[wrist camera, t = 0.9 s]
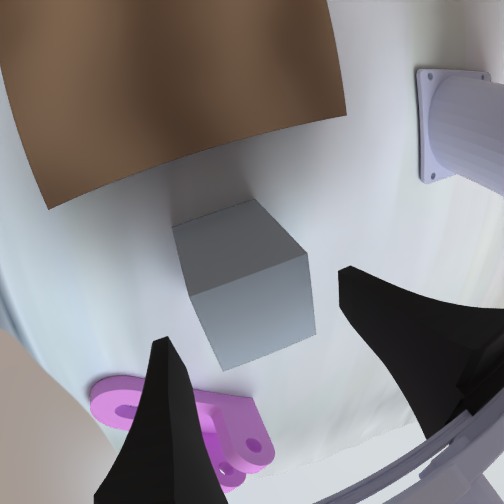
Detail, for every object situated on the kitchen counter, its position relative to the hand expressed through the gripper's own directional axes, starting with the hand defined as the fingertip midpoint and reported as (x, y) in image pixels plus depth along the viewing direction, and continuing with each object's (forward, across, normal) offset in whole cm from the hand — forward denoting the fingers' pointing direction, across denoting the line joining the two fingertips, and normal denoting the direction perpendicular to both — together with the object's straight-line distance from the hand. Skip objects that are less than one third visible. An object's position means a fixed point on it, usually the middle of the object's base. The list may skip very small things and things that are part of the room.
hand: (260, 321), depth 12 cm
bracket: (+6, +8, +12) cm, 16 cm away
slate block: (+6, 0, 0) cm, 6 cm away
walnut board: (+6, 0, -13) cm, 14 cm away
